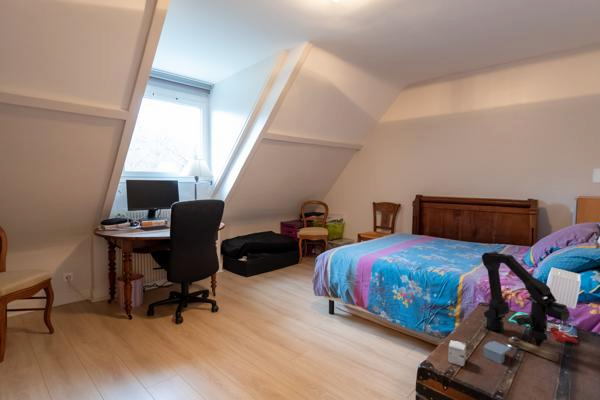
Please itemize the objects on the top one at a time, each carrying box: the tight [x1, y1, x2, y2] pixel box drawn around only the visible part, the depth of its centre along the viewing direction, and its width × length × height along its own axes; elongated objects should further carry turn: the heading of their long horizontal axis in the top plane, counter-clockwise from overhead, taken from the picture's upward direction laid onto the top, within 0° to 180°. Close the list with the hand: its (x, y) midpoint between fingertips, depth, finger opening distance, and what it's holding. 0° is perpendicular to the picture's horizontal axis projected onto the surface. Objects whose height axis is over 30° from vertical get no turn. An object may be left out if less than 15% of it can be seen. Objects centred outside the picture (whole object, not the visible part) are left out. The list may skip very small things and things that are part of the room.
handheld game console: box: [508, 311, 531, 328], centre depth 170 cm, size 10×16×1 cm, turn 129°
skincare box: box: [447, 339, 467, 367], centre depth 133 cm, size 6×6×7 cm
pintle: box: [504, 336, 522, 350], centre depth 144 cm, size 7×7×4 cm
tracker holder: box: [549, 326, 579, 344], centre depth 150 cm, size 12×4×10 cm
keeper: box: [483, 340, 512, 365], centre depth 136 cm, size 8×9×4 cm
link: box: [508, 336, 560, 363], centre depth 139 cm, size 18×4×2 cm, turn 33°
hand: (537, 345), depth 141 cm, fingers closed
